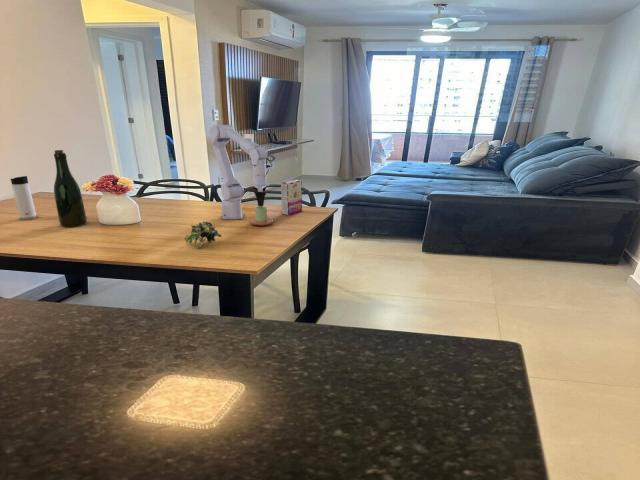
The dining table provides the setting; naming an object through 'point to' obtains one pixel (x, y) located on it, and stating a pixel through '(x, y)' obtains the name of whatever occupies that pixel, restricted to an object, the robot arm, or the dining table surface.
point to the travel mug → (23, 198)
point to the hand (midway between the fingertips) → (260, 204)
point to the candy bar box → (291, 197)
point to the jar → (261, 213)
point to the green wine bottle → (67, 194)
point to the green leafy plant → (202, 233)
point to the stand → (254, 222)
